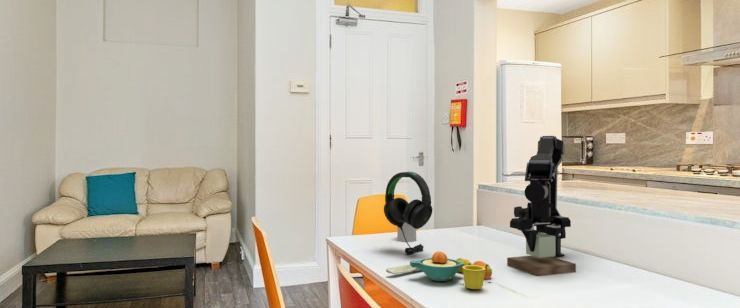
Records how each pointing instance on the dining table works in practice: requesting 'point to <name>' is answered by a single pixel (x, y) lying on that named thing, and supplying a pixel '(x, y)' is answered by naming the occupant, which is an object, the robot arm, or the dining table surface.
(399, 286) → the dining table surface
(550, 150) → the robot arm
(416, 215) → the headset
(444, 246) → the dining table surface
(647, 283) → the dining table surface
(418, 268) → the toy juicer set
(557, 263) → the walnut plinth
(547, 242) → the sage block
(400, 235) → the grey block
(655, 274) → the dining table surface
